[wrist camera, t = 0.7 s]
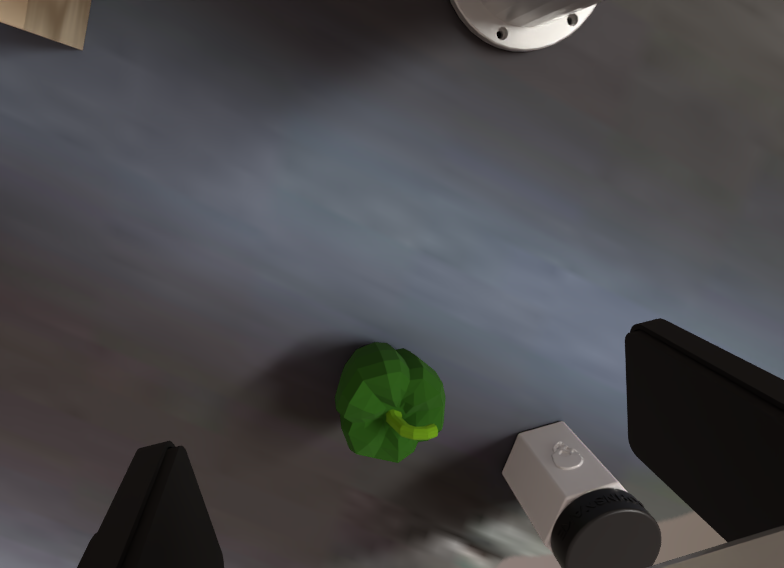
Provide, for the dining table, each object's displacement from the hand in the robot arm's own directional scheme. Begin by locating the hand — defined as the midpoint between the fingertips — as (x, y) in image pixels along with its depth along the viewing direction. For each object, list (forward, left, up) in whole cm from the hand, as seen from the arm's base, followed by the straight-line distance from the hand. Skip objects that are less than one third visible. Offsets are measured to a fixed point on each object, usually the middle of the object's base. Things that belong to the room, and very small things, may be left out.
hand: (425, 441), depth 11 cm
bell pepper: (+12, +8, -32) cm, 35 cm away
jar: (+17, +27, -32) cm, 45 cm away
